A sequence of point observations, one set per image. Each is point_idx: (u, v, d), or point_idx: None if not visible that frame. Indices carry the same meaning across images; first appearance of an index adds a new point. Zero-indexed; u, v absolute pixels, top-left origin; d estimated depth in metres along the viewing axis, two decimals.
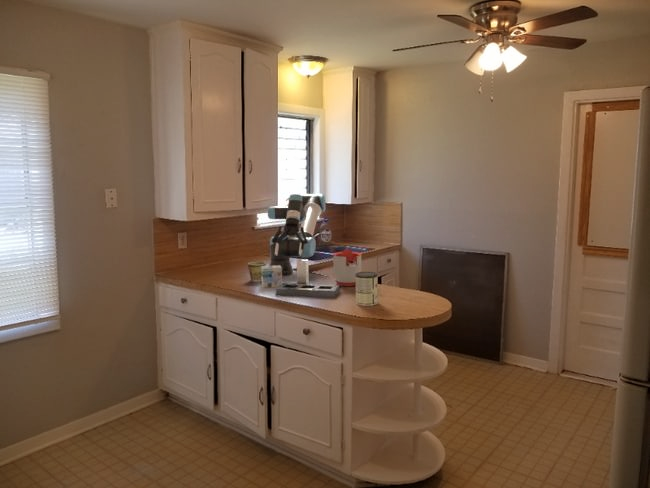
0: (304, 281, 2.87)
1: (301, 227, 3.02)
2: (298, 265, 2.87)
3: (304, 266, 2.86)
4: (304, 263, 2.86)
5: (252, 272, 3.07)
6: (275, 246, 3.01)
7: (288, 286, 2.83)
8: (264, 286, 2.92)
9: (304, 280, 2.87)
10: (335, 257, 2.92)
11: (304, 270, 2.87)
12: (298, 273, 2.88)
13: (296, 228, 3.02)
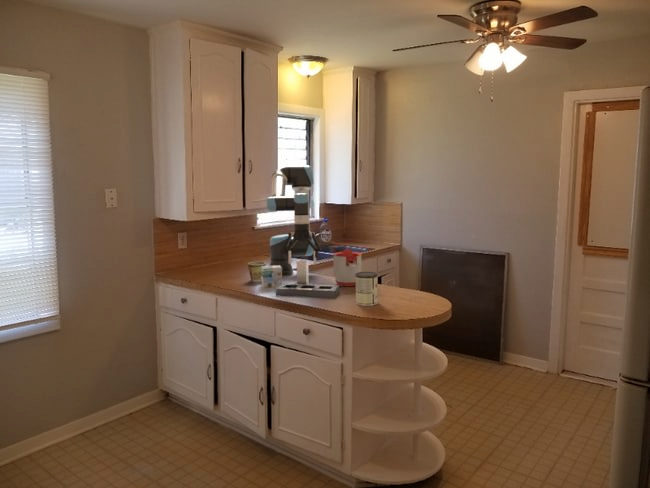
0: (304, 281, 2.87)
1: (312, 234, 2.84)
2: (298, 265, 2.87)
3: (304, 266, 2.86)
4: (304, 263, 2.86)
5: (252, 272, 3.07)
6: None
7: (288, 286, 2.83)
8: (264, 286, 2.92)
9: (304, 280, 2.87)
10: (335, 257, 2.92)
11: (304, 270, 2.87)
12: (298, 273, 2.88)
13: (307, 234, 2.85)
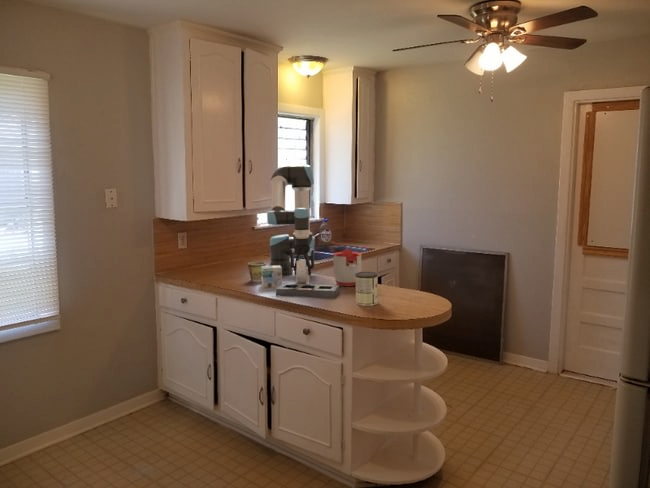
0: (304, 281, 2.87)
1: (312, 250, 2.85)
2: (298, 265, 2.87)
3: (304, 266, 2.86)
4: (304, 263, 2.86)
5: (252, 272, 3.07)
6: (295, 272, 2.90)
7: (288, 286, 2.83)
8: (264, 286, 2.92)
9: (304, 280, 2.87)
10: (335, 257, 2.92)
11: (304, 270, 2.87)
12: (298, 273, 2.88)
13: (307, 249, 2.86)
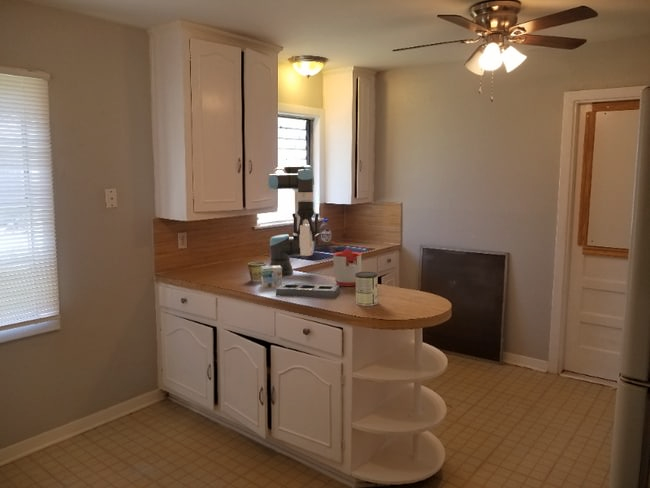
0: (308, 247, 2.73)
1: (316, 214, 2.71)
2: (301, 230, 2.73)
3: (308, 231, 2.72)
4: (308, 227, 2.72)
5: (252, 272, 3.07)
6: (299, 238, 2.75)
7: (288, 286, 2.83)
8: (264, 286, 2.92)
9: (308, 246, 2.73)
10: (335, 257, 2.92)
11: (308, 235, 2.72)
12: (301, 238, 2.73)
13: (311, 213, 2.72)
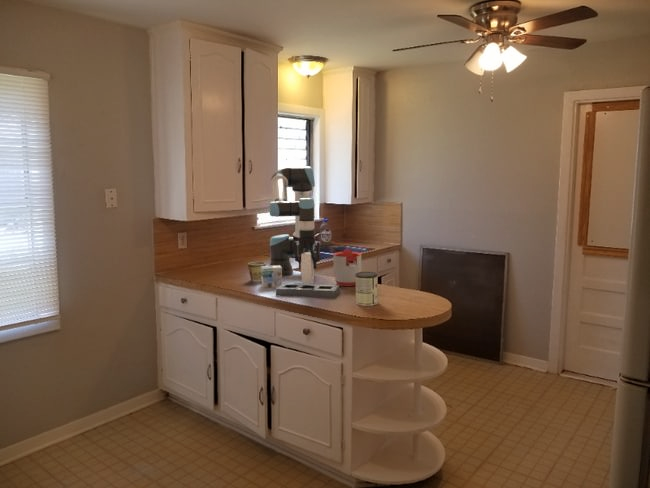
0: (309, 275, 2.74)
1: (318, 243, 2.72)
2: (303, 258, 2.73)
3: (309, 259, 2.72)
4: (309, 256, 2.72)
5: (252, 272, 3.07)
6: (300, 266, 2.76)
7: (288, 286, 2.83)
8: (264, 286, 2.92)
9: (309, 274, 2.74)
10: (335, 257, 2.92)
11: (309, 263, 2.73)
12: (303, 267, 2.74)
13: (312, 241, 2.72)
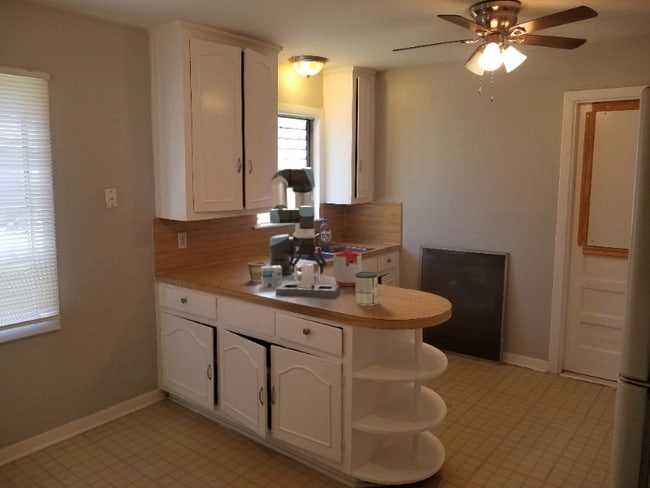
0: (309, 286, 2.75)
1: (318, 248, 2.72)
2: (303, 270, 2.74)
3: (309, 271, 2.73)
4: (309, 268, 2.73)
5: (252, 272, 3.07)
6: (293, 270, 2.77)
7: (288, 286, 2.83)
8: (264, 286, 2.92)
9: (309, 285, 2.74)
10: (335, 257, 2.92)
11: (309, 275, 2.74)
12: (303, 278, 2.75)
13: (312, 249, 2.73)
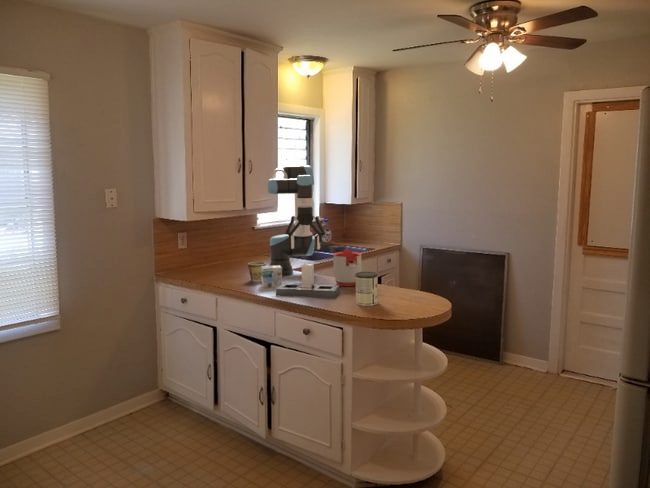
0: (309, 286, 2.75)
1: (316, 217, 2.71)
2: (303, 270, 2.74)
3: (309, 271, 2.73)
4: (309, 268, 2.73)
5: (252, 272, 3.07)
6: (290, 239, 2.77)
7: (288, 286, 2.83)
8: (264, 286, 2.92)
9: (309, 285, 2.74)
10: (335, 257, 2.92)
11: (309, 275, 2.74)
12: (303, 278, 2.75)
13: (310, 218, 2.72)
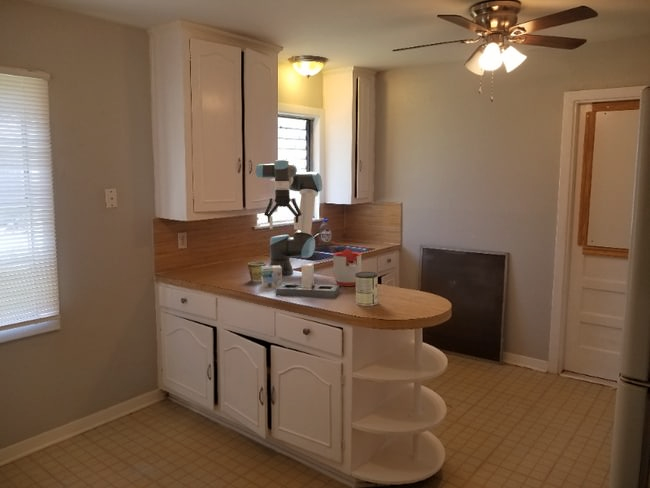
0: (309, 286, 2.75)
1: (292, 199, 2.90)
2: (303, 270, 2.74)
3: (309, 271, 2.73)
4: (309, 268, 2.73)
5: (252, 272, 3.07)
6: (269, 220, 2.95)
7: (288, 286, 2.83)
8: (264, 286, 2.92)
9: (309, 285, 2.74)
10: (335, 257, 2.92)
11: (309, 275, 2.74)
12: (303, 278, 2.75)
13: (287, 200, 2.91)
